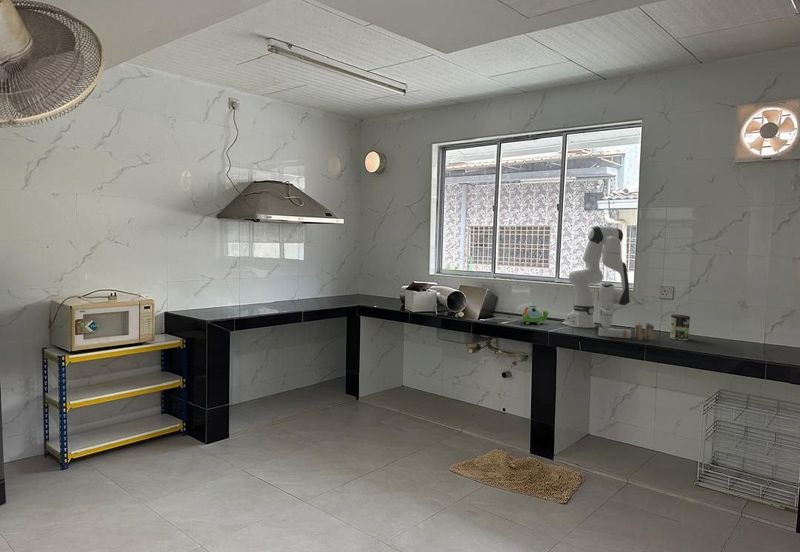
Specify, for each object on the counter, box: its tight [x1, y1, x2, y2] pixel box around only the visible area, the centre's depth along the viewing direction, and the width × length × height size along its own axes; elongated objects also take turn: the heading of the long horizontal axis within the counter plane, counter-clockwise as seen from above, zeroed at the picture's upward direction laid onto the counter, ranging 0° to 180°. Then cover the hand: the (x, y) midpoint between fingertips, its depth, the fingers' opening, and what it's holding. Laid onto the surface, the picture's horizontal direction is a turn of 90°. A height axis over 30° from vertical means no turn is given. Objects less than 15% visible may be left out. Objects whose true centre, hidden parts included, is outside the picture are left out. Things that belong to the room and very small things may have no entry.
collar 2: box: [644, 322, 655, 341], centre depth 333 cm, size 2×11×8 cm, turn 169°
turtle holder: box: [521, 305, 550, 325], centre depth 382 cm, size 12×18×12 cm
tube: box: [597, 326, 632, 339], centre depth 337 cm, size 18×5×5 cm, turn 78°
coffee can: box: [669, 314, 691, 341], centre depth 335 cm, size 10×10×14 cm
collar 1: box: [634, 322, 644, 341], centre depth 334 cm, size 2×11×8 cm, turn 169°
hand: (604, 332), depth 338 cm, fingers closed on tube, 4 cm apart
